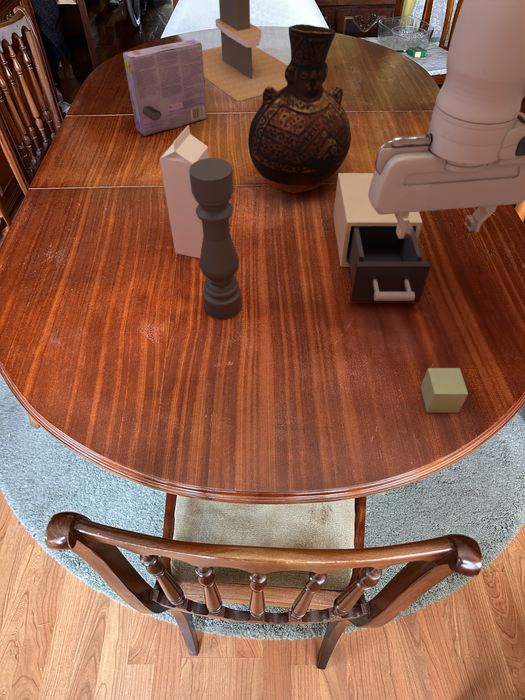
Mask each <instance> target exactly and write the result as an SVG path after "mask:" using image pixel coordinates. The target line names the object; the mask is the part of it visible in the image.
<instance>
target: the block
mask: <svg viewBox="0 0 525 700" xmlns="http://www.w3.org/2000/svg"><path fill="white" fill-rule="evenodd" d="M420 391H421V396H422V399H423V403H424V408H425V411H426V413H430V414H431V413H436V414H437V413H438V414H439V413H441V414H442V413H443V414H445V413H446V414H447V413H449V414H450V413H452V414H453V413H455V414H456V413H459V412H460V410H461V409H462V408H463V405H464V403H465V401H466V399H467V397H468V395H469V392H468V388H467V386H466V383H465V380H464V377H463V374H462V370H461V367H427V369H426V371H425V374H424V377H423V380H422V382H421V385H420Z"/></svg>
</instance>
